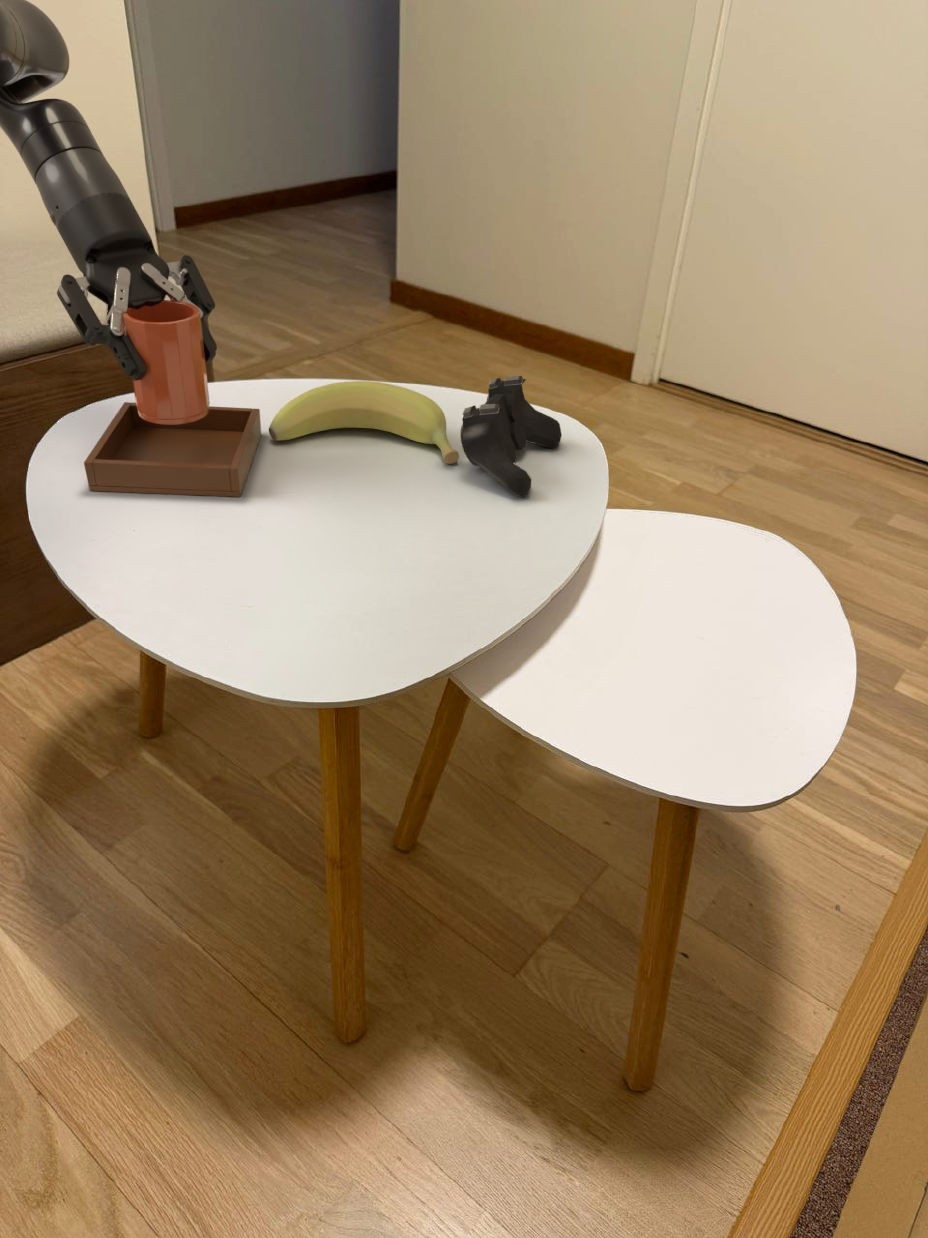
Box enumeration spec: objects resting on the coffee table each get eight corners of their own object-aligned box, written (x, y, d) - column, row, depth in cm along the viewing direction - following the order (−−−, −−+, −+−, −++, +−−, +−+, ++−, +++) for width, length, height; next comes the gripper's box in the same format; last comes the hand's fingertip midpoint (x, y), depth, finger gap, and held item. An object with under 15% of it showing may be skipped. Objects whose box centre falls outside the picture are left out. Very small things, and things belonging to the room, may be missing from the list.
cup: (129, 423, 87) (113, 321, 82) (147, 395, 93) (133, 297, 87) (202, 426, 88) (191, 325, 82) (215, 398, 94) (205, 302, 88)
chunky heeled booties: (515, 452, 107) (484, 374, 103) (568, 438, 104) (538, 356, 99) (472, 513, 94) (435, 427, 90) (530, 499, 91) (494, 408, 87)
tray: (89, 490, 87) (83, 462, 86) (128, 428, 99) (124, 401, 97) (240, 497, 88) (237, 469, 87) (261, 434, 100) (259, 408, 98)
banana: (334, 347, 103) (484, 410, 98) (337, 386, 108) (481, 448, 102) (260, 412, 96) (417, 484, 90) (267, 450, 100) (417, 521, 95)
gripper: (28, 197, 79) (119, 365, 79) (171, 182, 87) (252, 333, 88) (13, 246, 84) (99, 402, 85) (149, 228, 93) (225, 369, 94)
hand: (176, 367), depth 87 cm, fingers closed on cup, 7 cm apart
